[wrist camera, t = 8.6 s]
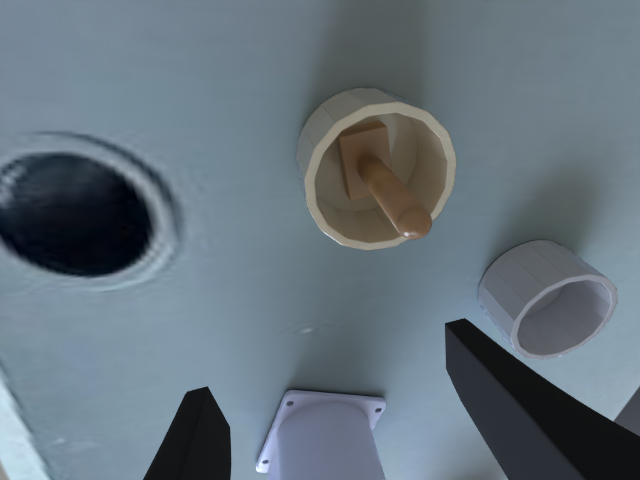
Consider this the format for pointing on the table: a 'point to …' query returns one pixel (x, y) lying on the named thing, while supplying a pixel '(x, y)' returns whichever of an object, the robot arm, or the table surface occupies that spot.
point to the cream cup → (405, 154)
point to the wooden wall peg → (379, 178)
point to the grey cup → (546, 299)
